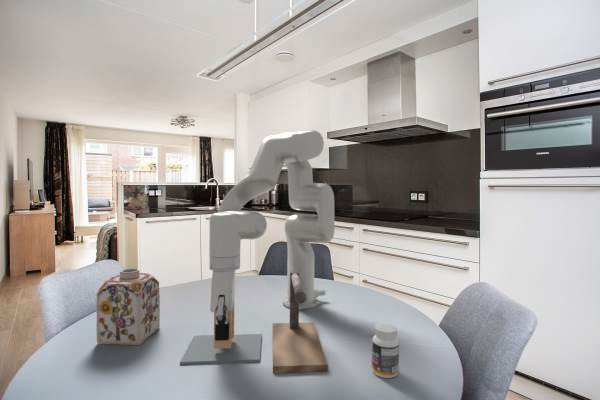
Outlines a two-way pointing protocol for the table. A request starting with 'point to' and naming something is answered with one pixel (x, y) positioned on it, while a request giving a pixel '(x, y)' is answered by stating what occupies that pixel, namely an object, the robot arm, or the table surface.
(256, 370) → the table surface
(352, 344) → the table surface
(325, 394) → the table surface
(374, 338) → the pill bottle
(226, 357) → the mat
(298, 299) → the stand
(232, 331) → the link
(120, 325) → the decorative jar
